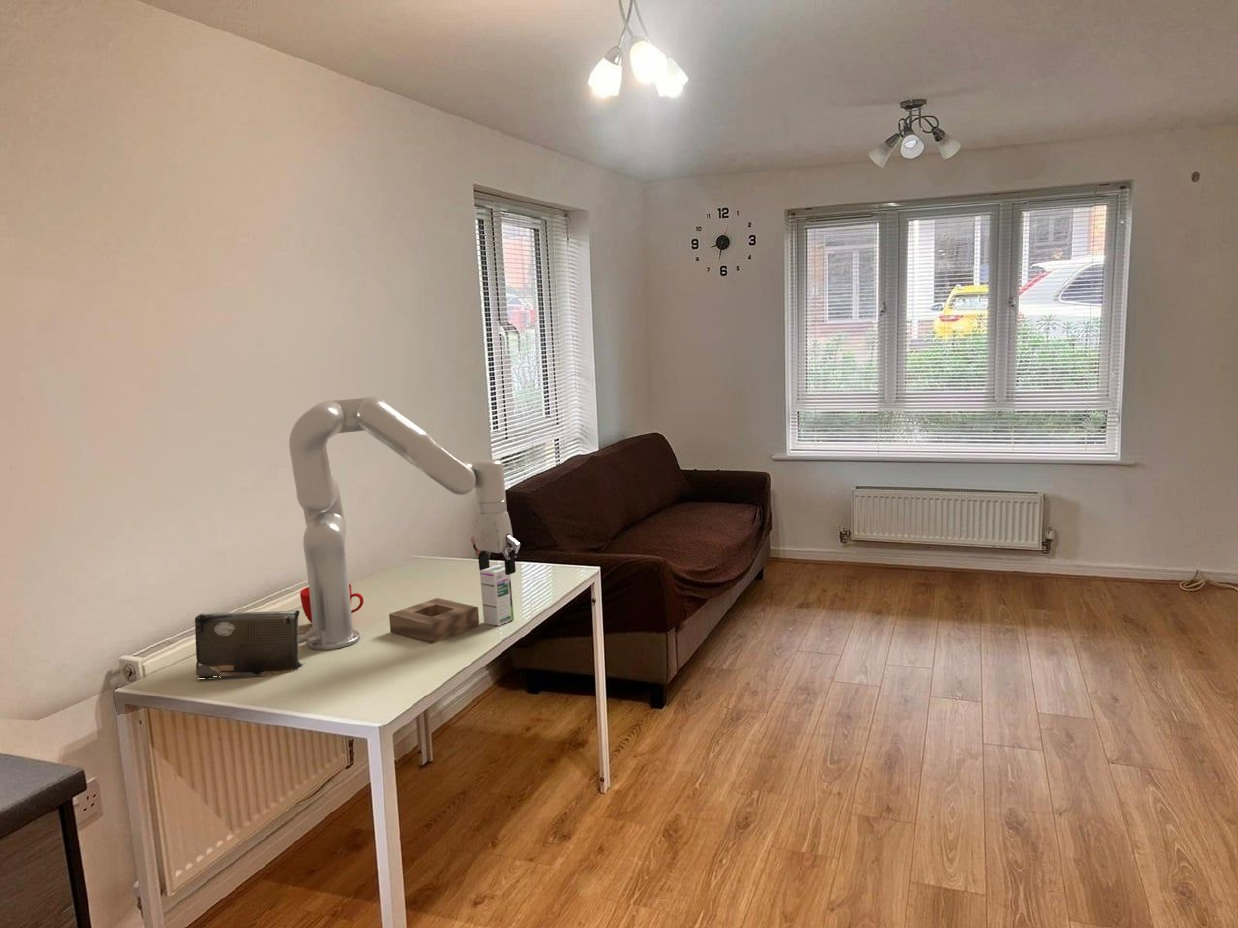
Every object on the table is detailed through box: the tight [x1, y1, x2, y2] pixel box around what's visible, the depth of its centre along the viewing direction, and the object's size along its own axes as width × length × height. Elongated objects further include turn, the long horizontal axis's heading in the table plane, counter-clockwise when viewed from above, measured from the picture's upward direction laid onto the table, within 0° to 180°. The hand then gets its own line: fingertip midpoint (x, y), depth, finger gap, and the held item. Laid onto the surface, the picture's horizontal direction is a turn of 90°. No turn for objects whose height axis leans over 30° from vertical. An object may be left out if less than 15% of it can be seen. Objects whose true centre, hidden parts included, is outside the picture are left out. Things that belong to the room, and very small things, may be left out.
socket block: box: [388, 597, 480, 645], centre depth 226 cm, size 16×16×5 cm
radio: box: [194, 610, 304, 680], centre depth 200 cm, size 23×9×15 cm, turn 94°
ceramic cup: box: [299, 583, 364, 624], centre depth 232 cm, size 13×17×10 cm
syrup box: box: [479, 564, 515, 627], centre depth 229 cm, size 6×6×14 cm
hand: (497, 571), depth 228 cm, fingers open, 9 cm apart
